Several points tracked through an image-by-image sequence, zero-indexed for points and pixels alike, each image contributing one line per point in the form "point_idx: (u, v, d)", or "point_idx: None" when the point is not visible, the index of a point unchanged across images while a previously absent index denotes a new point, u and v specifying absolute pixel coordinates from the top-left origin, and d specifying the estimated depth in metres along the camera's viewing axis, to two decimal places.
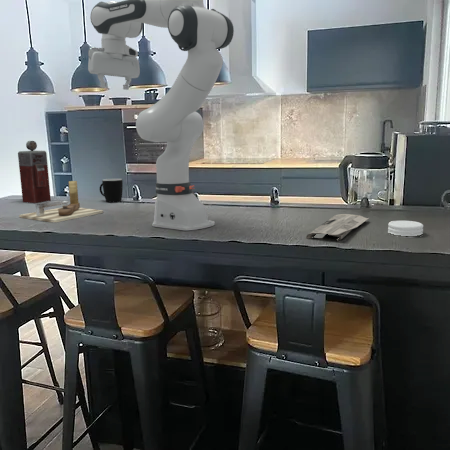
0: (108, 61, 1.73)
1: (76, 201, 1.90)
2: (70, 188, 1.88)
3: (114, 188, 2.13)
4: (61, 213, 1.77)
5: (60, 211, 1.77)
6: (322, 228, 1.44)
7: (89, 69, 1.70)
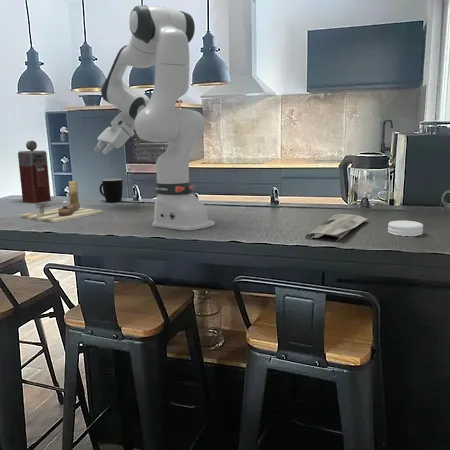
0: (109, 132, 1.96)
1: (76, 201, 1.90)
2: (70, 188, 1.88)
3: (114, 188, 2.13)
4: (61, 213, 1.77)
5: (60, 211, 1.77)
6: (321, 228, 1.44)
7: None
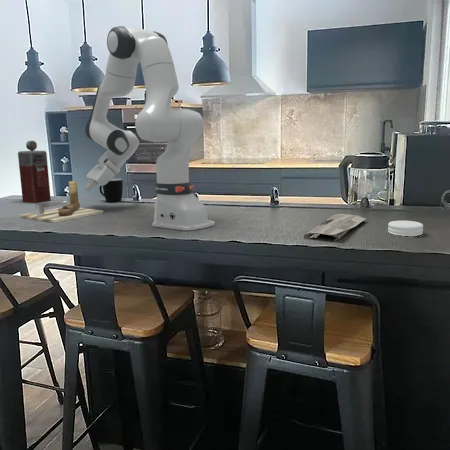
0: (97, 169, 1.97)
1: (76, 201, 1.90)
2: (70, 188, 1.88)
3: (114, 188, 2.13)
4: (61, 213, 1.77)
5: (60, 211, 1.77)
6: (319, 228, 1.44)
7: None
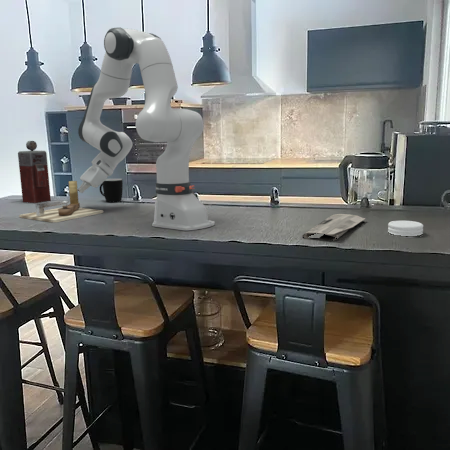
0: (90, 171, 1.95)
1: (76, 201, 1.90)
2: (70, 188, 1.88)
3: (114, 188, 2.13)
4: (61, 213, 1.77)
5: (60, 211, 1.77)
6: (318, 228, 1.44)
7: None
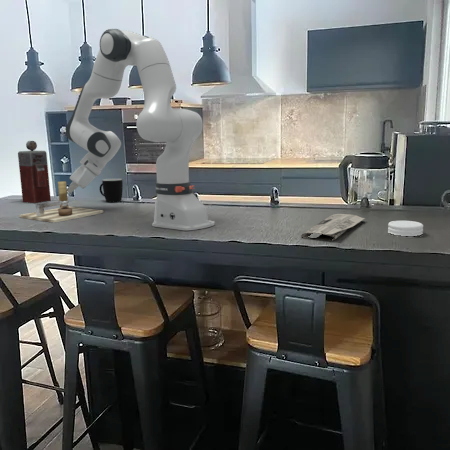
0: (79, 171, 1.94)
1: None
2: (60, 188, 1.87)
3: (114, 188, 2.13)
4: (63, 213, 1.77)
5: (62, 211, 1.77)
6: (317, 228, 1.44)
7: None
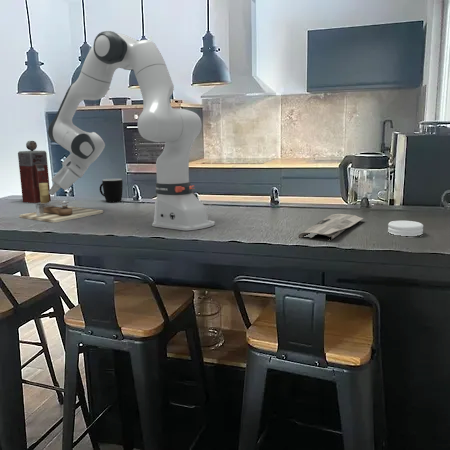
0: (61, 173, 1.90)
1: None
2: (44, 190, 1.83)
3: (114, 188, 2.13)
4: (67, 213, 1.78)
5: (66, 211, 1.77)
6: (315, 228, 1.45)
7: None
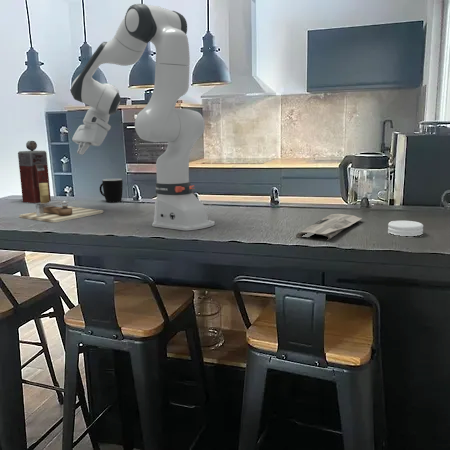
0: (83, 130, 1.90)
1: None
2: (44, 190, 1.83)
3: (114, 188, 2.13)
4: (67, 213, 1.78)
5: (66, 211, 1.77)
6: (312, 227, 1.45)
7: None
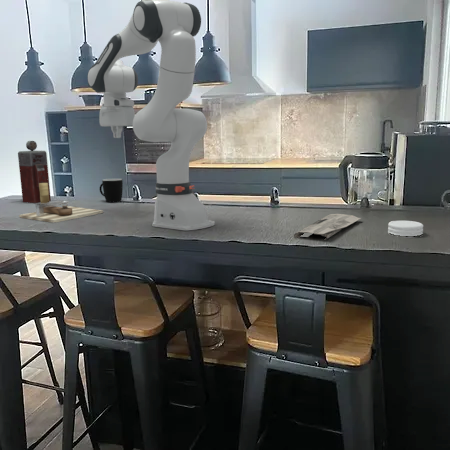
0: (108, 114, 1.91)
1: None
2: (44, 190, 1.83)
3: (114, 188, 2.13)
4: (67, 213, 1.78)
5: (66, 211, 1.77)
6: (310, 227, 1.45)
7: None
